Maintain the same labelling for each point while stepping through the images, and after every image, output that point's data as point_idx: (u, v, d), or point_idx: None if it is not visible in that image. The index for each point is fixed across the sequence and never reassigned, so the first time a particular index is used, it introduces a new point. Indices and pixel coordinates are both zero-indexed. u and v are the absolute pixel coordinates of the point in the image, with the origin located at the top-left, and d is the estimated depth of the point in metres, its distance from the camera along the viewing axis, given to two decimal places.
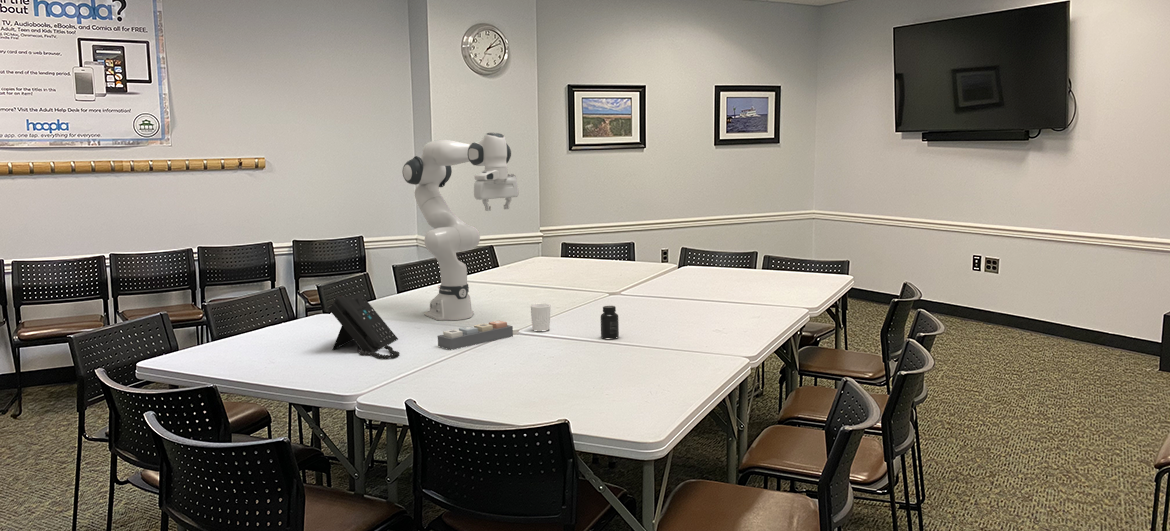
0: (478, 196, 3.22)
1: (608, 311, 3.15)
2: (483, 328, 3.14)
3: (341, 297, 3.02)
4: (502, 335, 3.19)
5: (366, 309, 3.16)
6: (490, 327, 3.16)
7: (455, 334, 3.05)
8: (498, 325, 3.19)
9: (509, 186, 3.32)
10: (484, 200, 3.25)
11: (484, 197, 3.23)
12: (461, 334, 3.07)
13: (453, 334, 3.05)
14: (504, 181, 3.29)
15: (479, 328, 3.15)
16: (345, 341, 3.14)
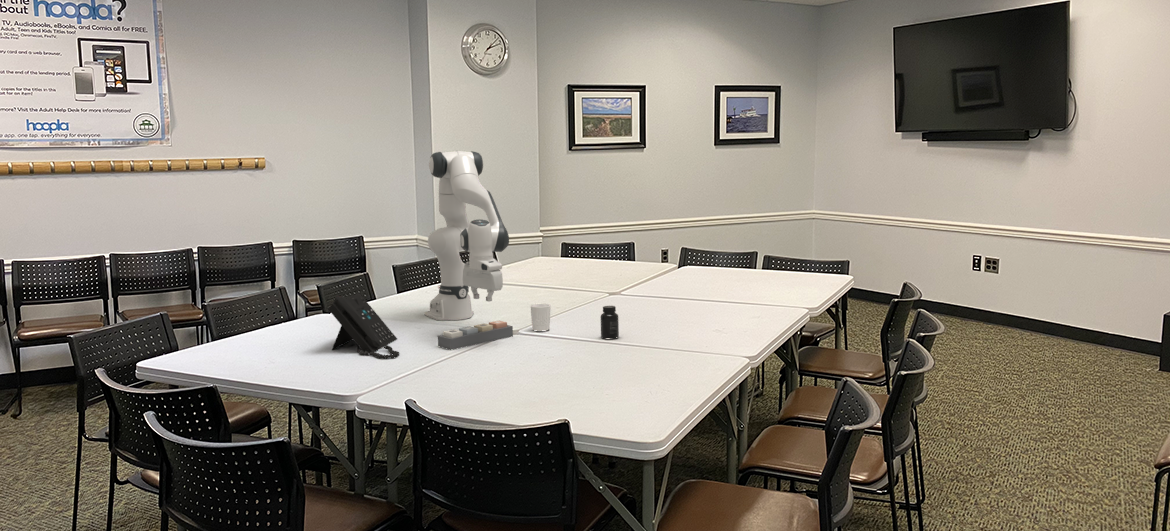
0: (501, 287, 3.09)
1: (608, 311, 3.15)
2: (483, 328, 3.14)
3: (340, 297, 3.02)
4: (502, 335, 3.19)
5: (365, 309, 3.16)
6: (490, 327, 3.16)
7: (455, 334, 3.05)
8: (498, 325, 3.19)
9: None
10: (492, 290, 3.11)
11: None
12: (461, 334, 3.07)
13: (453, 334, 3.05)
14: None
15: (479, 328, 3.15)
16: (344, 341, 3.14)
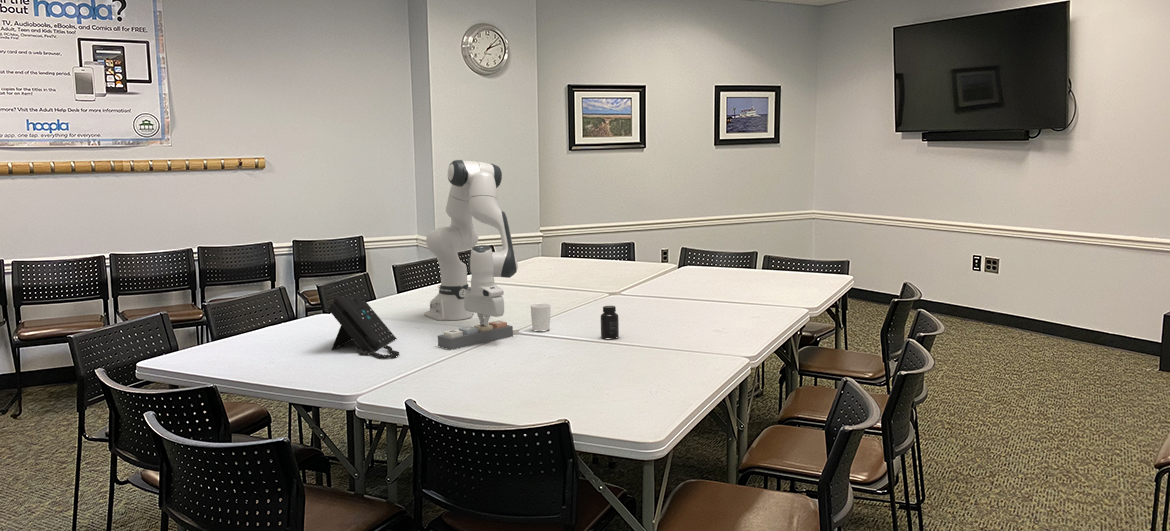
0: (502, 312, 3.10)
1: (608, 311, 3.15)
2: (483, 328, 3.14)
3: (340, 297, 3.02)
4: (502, 335, 3.19)
5: (365, 309, 3.16)
6: (490, 327, 3.16)
7: (455, 334, 3.05)
8: (498, 325, 3.19)
9: None
10: (488, 315, 3.15)
11: None
12: (461, 334, 3.07)
13: (453, 334, 3.05)
14: None
15: (479, 328, 3.15)
16: (344, 341, 3.14)
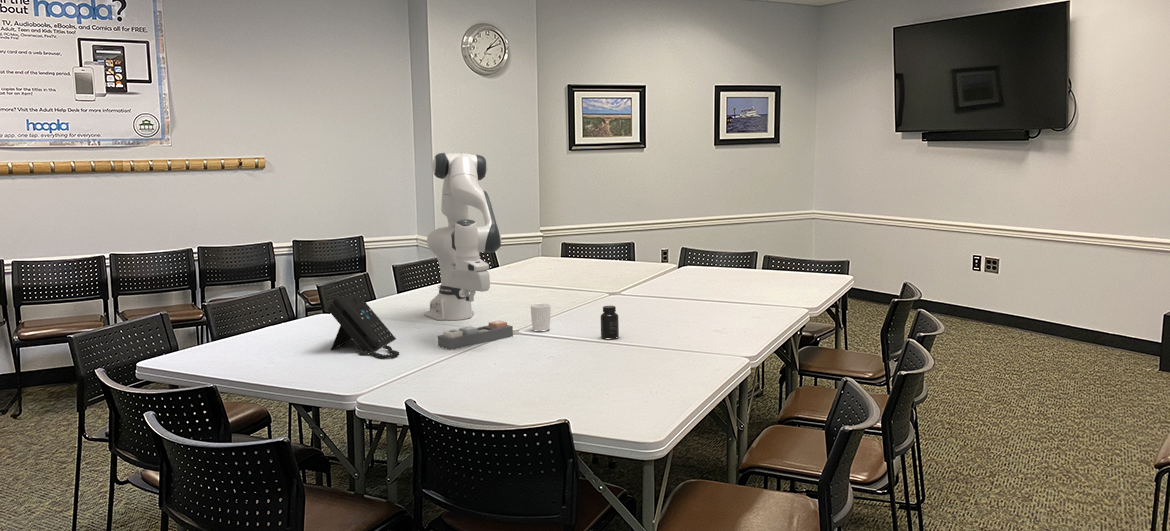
0: (488, 287, 3.04)
1: (608, 311, 3.15)
2: None
3: (340, 297, 3.02)
4: (502, 335, 3.19)
5: (364, 309, 3.16)
6: None
7: (455, 334, 3.05)
8: (498, 325, 3.19)
9: None
10: (473, 290, 3.08)
11: None
12: (461, 334, 3.07)
13: (453, 334, 3.05)
14: None
15: None
16: (343, 341, 3.13)
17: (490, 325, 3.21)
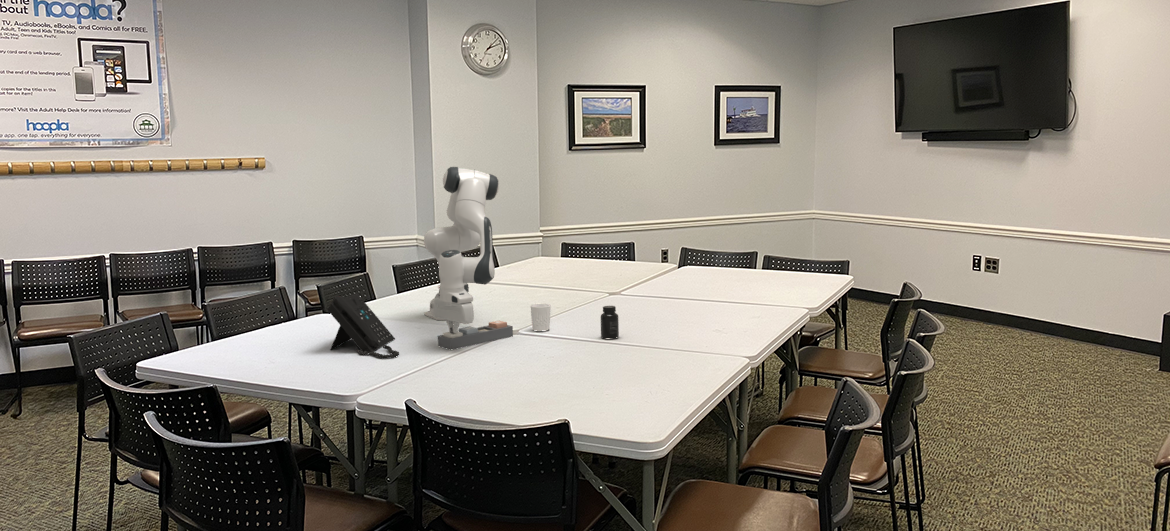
0: (472, 319, 3.00)
1: (608, 311, 3.15)
2: None
3: (339, 297, 3.02)
4: (502, 335, 3.19)
5: (363, 309, 3.16)
6: None
7: (455, 335, 3.05)
8: (498, 325, 3.19)
9: None
10: (457, 322, 3.05)
11: None
12: (461, 335, 3.07)
13: (453, 335, 3.05)
14: None
15: None
16: (342, 341, 3.13)
17: (490, 325, 3.21)
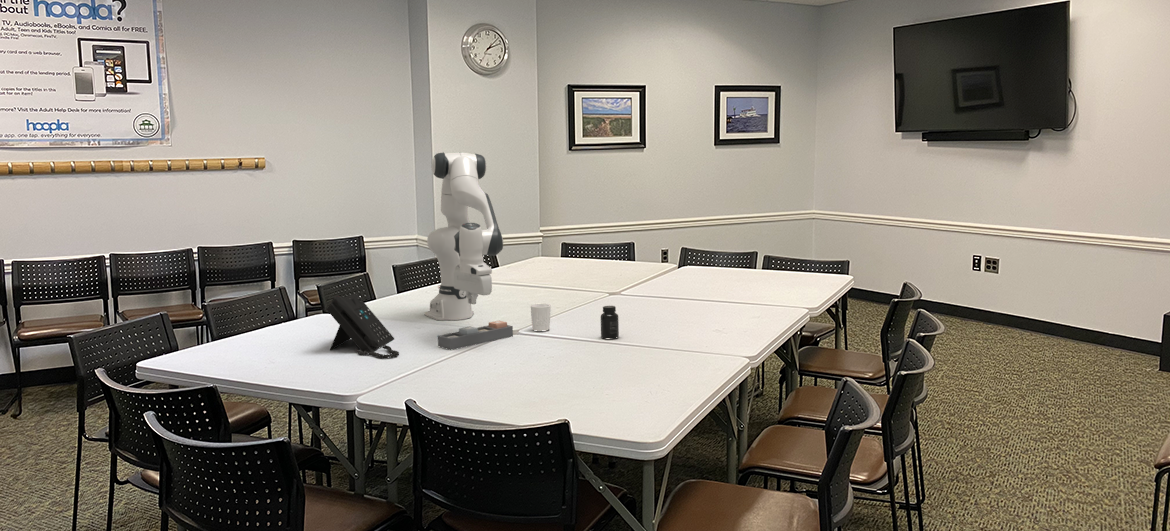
0: (490, 291, 3.06)
1: (608, 311, 3.15)
2: None
3: (339, 297, 3.02)
4: (502, 335, 3.19)
5: (362, 309, 3.16)
6: None
7: None
8: (498, 325, 3.19)
9: None
10: (476, 293, 3.11)
11: None
12: None
13: None
14: None
15: None
16: (342, 341, 3.13)
17: (490, 325, 3.21)
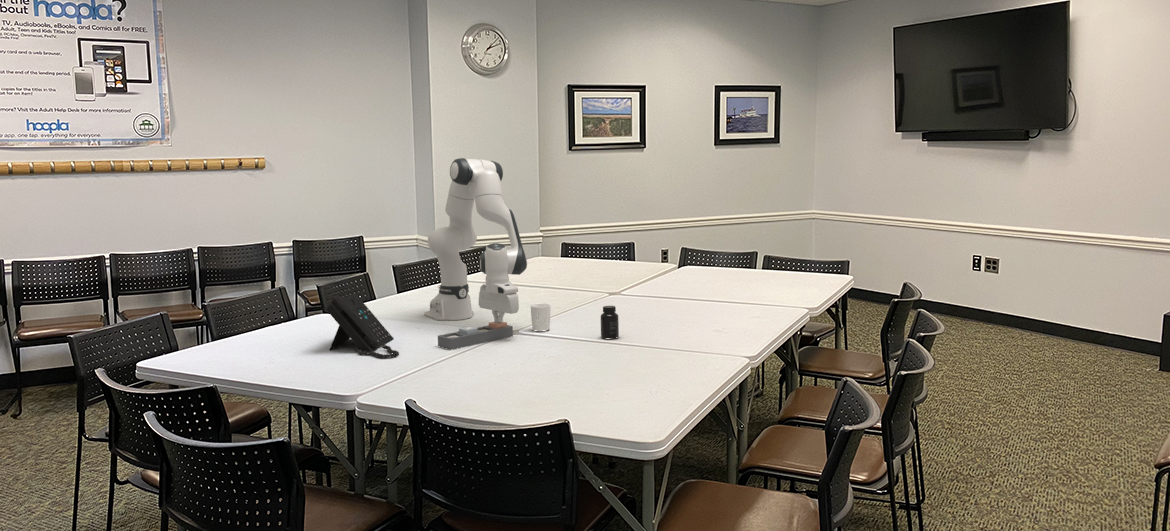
0: (517, 309, 3.15)
1: (608, 311, 3.15)
2: None
3: (338, 297, 3.02)
4: (502, 335, 3.19)
5: (362, 309, 3.16)
6: None
7: None
8: (498, 325, 3.19)
9: None
10: (503, 312, 3.20)
11: None
12: None
13: None
14: None
15: None
16: (341, 341, 3.13)
17: (490, 325, 3.21)
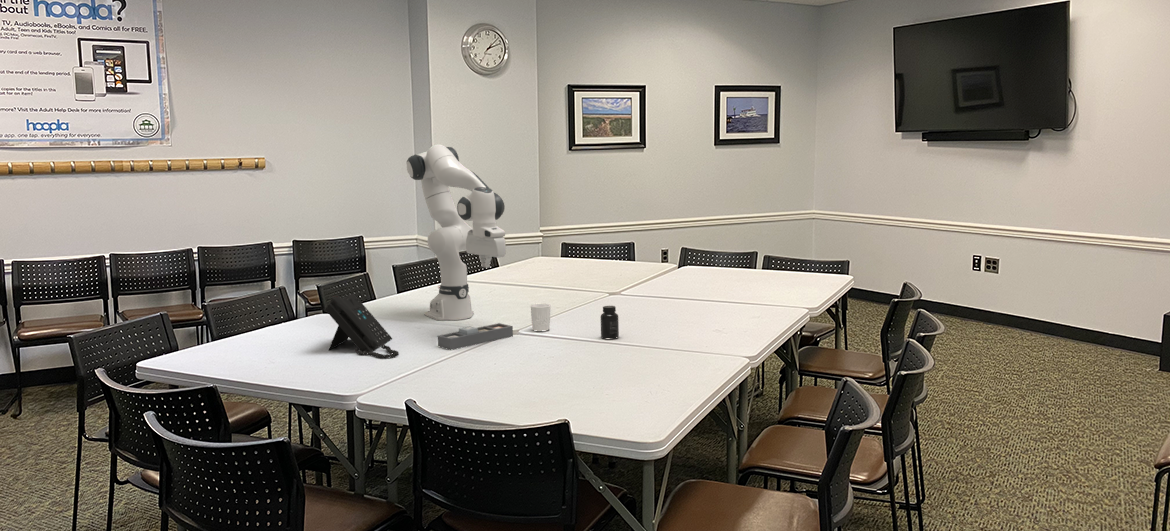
0: (504, 253, 3.11)
1: (608, 311, 3.15)
2: None
3: (337, 297, 3.02)
4: (502, 335, 3.19)
5: (360, 309, 3.16)
6: None
7: None
8: None
9: None
10: (490, 256, 3.16)
11: None
12: None
13: None
14: None
15: None
16: (340, 341, 3.13)
17: None
